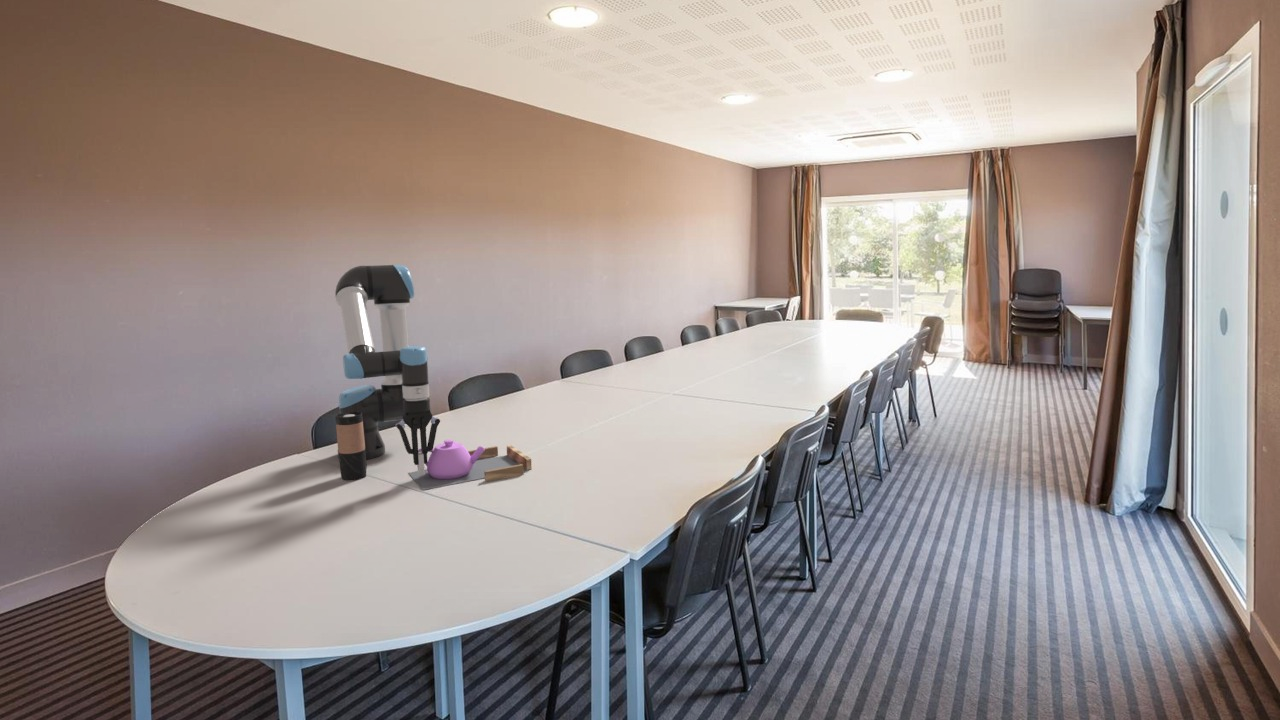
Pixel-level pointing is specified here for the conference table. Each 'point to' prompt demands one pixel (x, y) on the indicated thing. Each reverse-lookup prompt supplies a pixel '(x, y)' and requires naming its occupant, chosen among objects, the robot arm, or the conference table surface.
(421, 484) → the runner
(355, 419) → the travel mug
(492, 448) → the bay
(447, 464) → the teapot
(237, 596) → the conference table surface
